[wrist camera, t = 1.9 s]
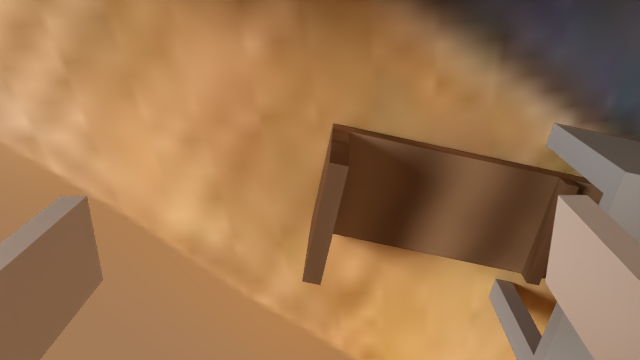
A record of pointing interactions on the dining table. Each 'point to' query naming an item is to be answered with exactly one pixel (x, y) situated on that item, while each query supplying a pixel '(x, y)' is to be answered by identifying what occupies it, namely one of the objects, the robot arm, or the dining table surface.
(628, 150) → the tunnel
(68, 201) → the robot arm
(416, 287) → the dining table surface
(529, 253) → the sled
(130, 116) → the dining table surface
